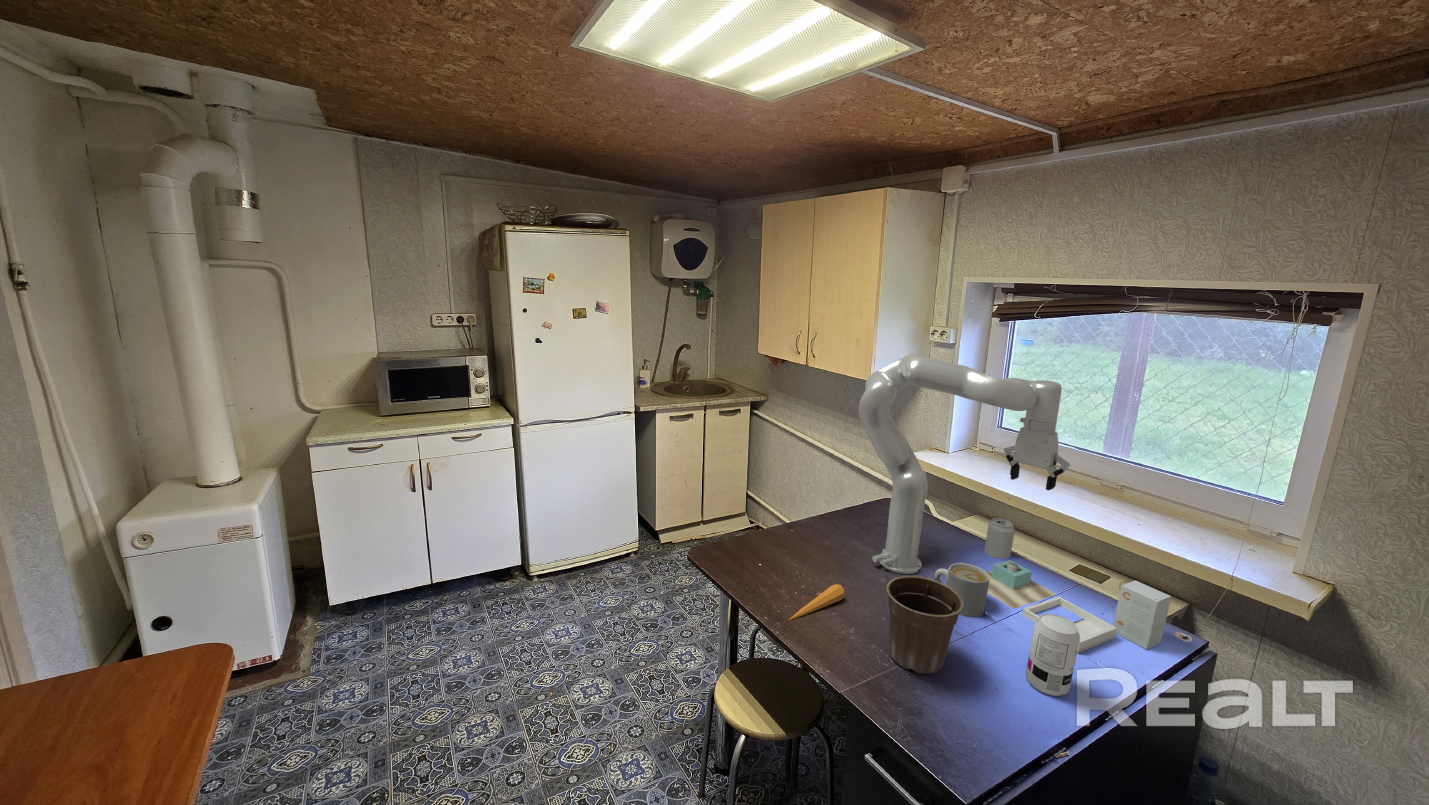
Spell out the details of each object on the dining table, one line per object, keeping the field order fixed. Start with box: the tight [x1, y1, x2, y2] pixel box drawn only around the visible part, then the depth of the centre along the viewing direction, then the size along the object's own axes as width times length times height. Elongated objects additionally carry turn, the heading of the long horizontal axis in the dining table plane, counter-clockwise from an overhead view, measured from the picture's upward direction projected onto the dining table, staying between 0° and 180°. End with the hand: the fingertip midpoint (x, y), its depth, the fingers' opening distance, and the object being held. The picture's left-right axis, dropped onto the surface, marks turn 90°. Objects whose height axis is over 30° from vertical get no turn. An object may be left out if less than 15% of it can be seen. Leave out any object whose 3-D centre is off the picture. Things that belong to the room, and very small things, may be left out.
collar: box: [991, 559, 1033, 589], centre depth 158 cm, size 7×8×4 cm
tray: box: [1021, 596, 1117, 655], centre depth 138 cm, size 15×15×3 cm
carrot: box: [788, 583, 846, 621], centre depth 144 cm, size 20×4×4 cm, turn 125°
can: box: [983, 517, 1016, 560], centre depth 173 cm, size 8×8×12 cm
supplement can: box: [1025, 613, 1080, 697], centre depth 117 cm, size 8×8×15 cm
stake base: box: [986, 562, 1058, 610], centre depth 155 cm, size 18×16×6 cm
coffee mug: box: [933, 562, 990, 618], centre depth 147 cm, size 13×10×10 cm
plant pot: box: [886, 575, 963, 675], centre depth 125 cm, size 16×16×16 cm
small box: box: [1112, 580, 1172, 650], centre depth 135 cm, size 8×6×13 cm
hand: (1031, 483), depth 154 cm, fingers open, 9 cm apart
